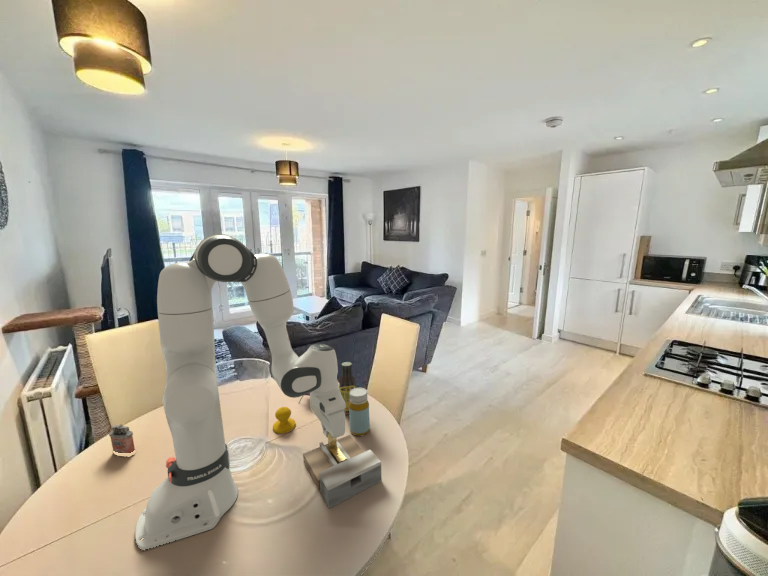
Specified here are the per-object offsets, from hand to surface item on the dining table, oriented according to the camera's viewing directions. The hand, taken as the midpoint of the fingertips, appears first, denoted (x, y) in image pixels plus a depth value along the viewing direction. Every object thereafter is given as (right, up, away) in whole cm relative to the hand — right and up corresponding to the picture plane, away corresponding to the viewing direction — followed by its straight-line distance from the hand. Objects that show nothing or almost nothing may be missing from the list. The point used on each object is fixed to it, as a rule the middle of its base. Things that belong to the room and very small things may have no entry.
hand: (327, 434), depth 100 cm
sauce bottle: (+4, -2, +25) cm, 25 cm away
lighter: (-68, -8, +4) cm, 68 cm away
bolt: (+4, -4, -5) cm, 8 cm away
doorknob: (-19, -5, +16) cm, 25 cm away
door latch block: (+5, -8, -7) cm, 12 cm away
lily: (-14, -2, +33) cm, 36 cm away
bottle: (+9, -5, +12) cm, 16 cm away
